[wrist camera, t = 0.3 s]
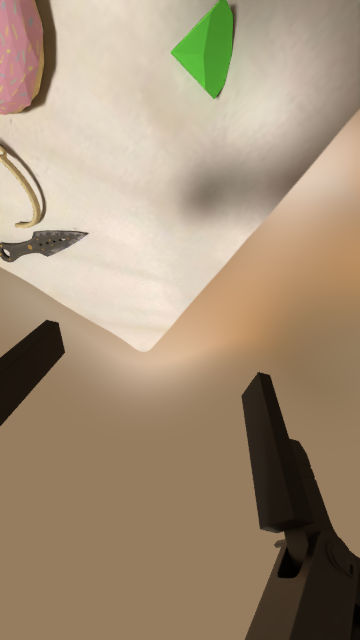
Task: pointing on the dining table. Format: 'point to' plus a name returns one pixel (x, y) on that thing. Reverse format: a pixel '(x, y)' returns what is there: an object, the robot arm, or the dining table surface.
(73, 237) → the throwing knife
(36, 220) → the headband
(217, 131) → the dining table surface
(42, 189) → the dining table surface
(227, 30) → the gemstone
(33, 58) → the donut
